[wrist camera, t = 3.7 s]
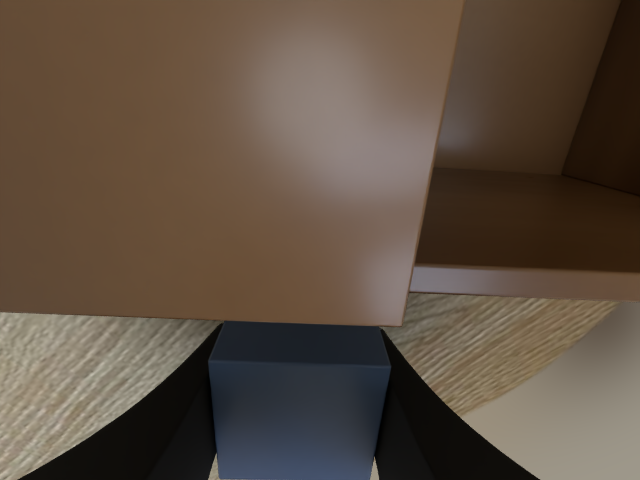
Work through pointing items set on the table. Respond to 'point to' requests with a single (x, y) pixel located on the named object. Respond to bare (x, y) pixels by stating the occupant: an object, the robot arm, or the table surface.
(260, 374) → the block
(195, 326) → the table surface
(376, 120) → the carton
